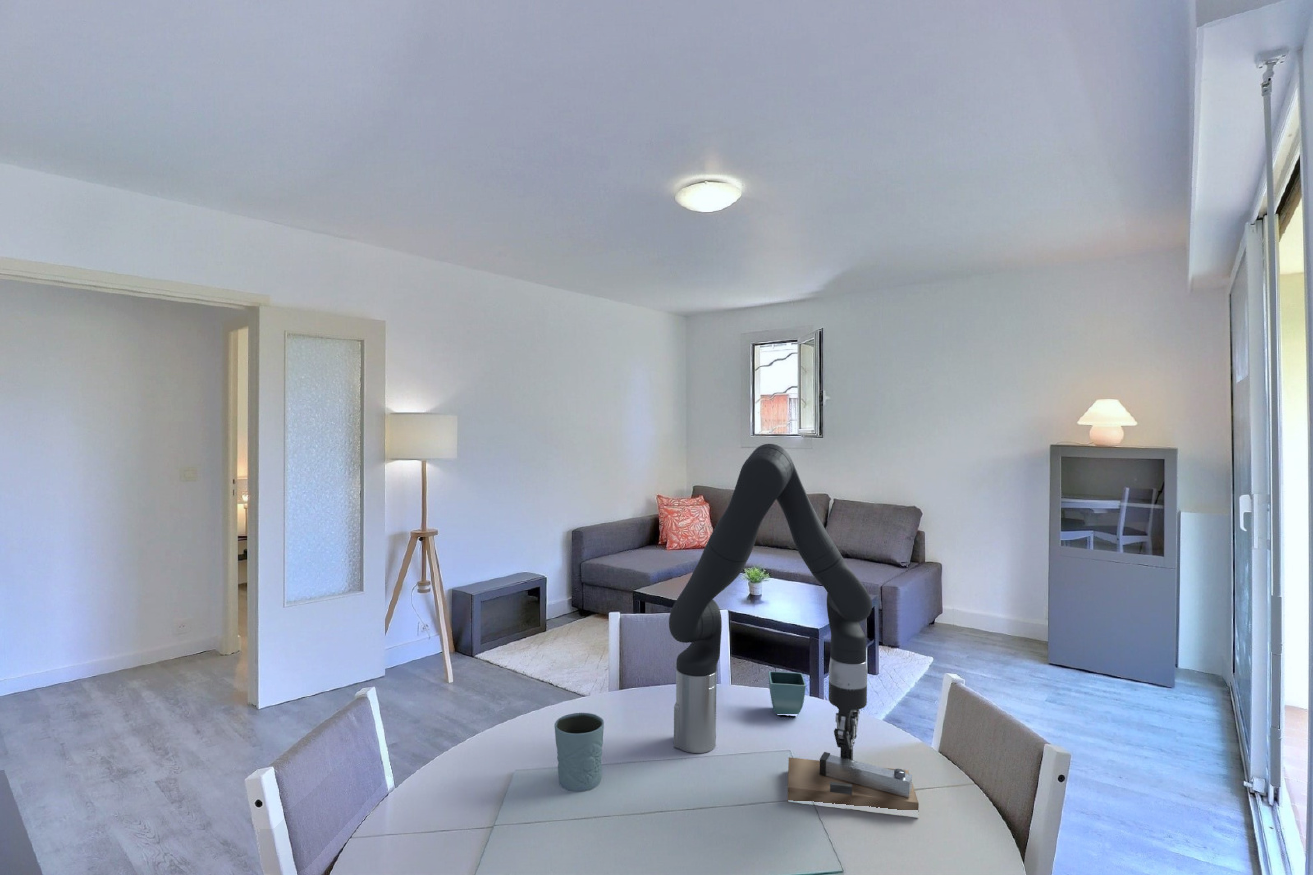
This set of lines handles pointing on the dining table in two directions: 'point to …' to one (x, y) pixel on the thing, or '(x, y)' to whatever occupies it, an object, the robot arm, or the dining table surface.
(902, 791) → the hinged leg
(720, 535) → the robot arm
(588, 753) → the embossed green cup
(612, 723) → the dining table surface
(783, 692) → the flower pot
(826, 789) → the wooden board with bar
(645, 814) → the dining table surface
